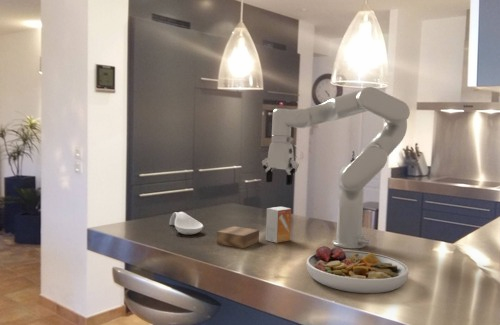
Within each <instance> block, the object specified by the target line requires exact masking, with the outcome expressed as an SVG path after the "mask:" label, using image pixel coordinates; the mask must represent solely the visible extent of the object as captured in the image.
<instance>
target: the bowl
mask: <svg viewBox="0 0 500 325" xmlns="http://www.w3.org/2000/svg"><path fill="white" fill-rule="evenodd" d="M306 268H307V272H308V273H309V275H310V276H311V277H312V279H314V280H315V281H316V282H318V283H320V284H321V285H324V286H326V287H328V288H331V289H335V290H339V291H345V292H349V293H357V294H381V293H387V292H390V291H394V290H396V289H398V288H400V287H402V286H403V285H404V284H405V283H406V281H407V280H408V277H409V270H410V269H409V267H408V266H407V265H406V264H405V263H403V262H402V261H400V260H397V259H396V258H392V257H390V256H386V255H382V254H378V253H373V252H367V251H358V250H343V249H342V247H338V246H334V247H333V248H330V247H328V246H325V245H323V246H320V247H318V248H317V249H316V251H315V253H313V254H312V255H310V256H308V257H307V259H306Z"/></svg>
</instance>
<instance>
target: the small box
mask: <svg viewBox="0 0 500 325" xmlns="http://www.w3.org/2000/svg"><path fill="white" fill-rule="evenodd" d="M291 219H292V208H290V207H285V206H273V207H268V208H266V223H265V224H266V225H265V241H268V242H272V243H276V244H278V243H282V242H287V241H288V242H289V241H290V240H291V227H292V226H291V224H292V223H291V222H292V220H291Z"/></svg>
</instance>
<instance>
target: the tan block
mask: <svg viewBox="0 0 500 325" xmlns="http://www.w3.org/2000/svg"><path fill="white" fill-rule="evenodd" d="M259 242H260V229H254V228H249V227H241V226H240V227H239V226H235V225H234V226H229V227H226V228H223V229H220V230H217V231H216V244H218V245H224V246H230V247H234V248H240V249H244V248H248V247H250V246H252V245H254V244H257V243H259Z"/></svg>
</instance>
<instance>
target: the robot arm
mask: <svg viewBox="0 0 500 325" xmlns="http://www.w3.org/2000/svg"><path fill="white" fill-rule="evenodd" d="M410 111H411V110H410V107H409V105H408V104H407V103H406V102H405V101H403V100H401V99H398V98H397V97H394V96H392V95H391V94H389V93H386V92H384V91H383V90H380V89H378V88H376V87H373V86H366V87H363V88H362V89H360V90H356V91H353V92H349V93H346V94H343V95H338V96H335V97H333V98H330V99H327V101H325V102H322V103H320V104H317V105H312V106H310V107H306V108H295V109H294V108H293V109H288V108H275V109H273V111H272V119H271V120H272V122H271V123H272V124H271V126H272V127H271V142H270V143H269V147H268V153H267V157H266V158H264V159H263V160H262V161H261V163H262V168H263V169H264V172H265V173H266V176H265V177H266V179H265V180H266V183H271V182H273V177H274V176H273V170H274V169H276V170H285V172H286V173H287V174H286V177H285V178H286V180H285V184H286V185H287V186H291V185H293V178H294V175H295V173H296V172H297V170H298V168H299V167H300V164H299V163H298V162H297V161H295V159H294V157H295V156H294V147H293V144H291V142H293V141H294V139H293V137H292V128H295V129H305V128H309V127H310V128H311V127H312V126H316V125H319V124H323V123H326V122H327V123H328V122H331V121H332V122H333V121H338V120H340V119H346V118H348V117H353V116H356V115H358V114H361V113H365V112H370V113H371V114H374V115H375V116H378V117H380V118H382V119H384V120H383V121H384V124H383V127H382V129H381V130H380V131H379V132H378V134H377V135H375V137H374V138H372V139H371V140H370V141H369V142H368V143H367V144H366V145H365V146H364V147H363V148H362V149H361V150H360V152H359V155H357V157H355V159H353V160H352V161H351V162H350V163H349V164H346V165H344V166H343V167H342V168H341V170H340V171H339V174H338V193H337V194H338V196H337V197H338V199H337V200H338V202H337V218H336V219H337V220H336V237H335V238H334V239H333V240H332V241H331V242H332V243H331V244H332V245H334V247H338V248H341V249H342V248H344V249H354V250H355V249H362V248H364V247H365V246H366V245H368V246H370V245H371V243H372V242H371V238H366V237H365V234H363V233H362V232H363V231H362V230H363V212H364V211H363V208H364V187H366V186H367V185H368V184H369V183H370V182H371V181H372V179H374V178H375V177H376V176H377V175H378V174H379V173H380V172H381V171H382V170H383V168H384V167H385V166H386V164H387V162H388V157H389V156H390V155H391V154H392V153H393V152H394V150H396V148H397V147H398V146H399V145H400V144H401V142H403V139H405V136H406V134H407V128H408V119H409V117H410V114H411V112H410Z"/></svg>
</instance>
